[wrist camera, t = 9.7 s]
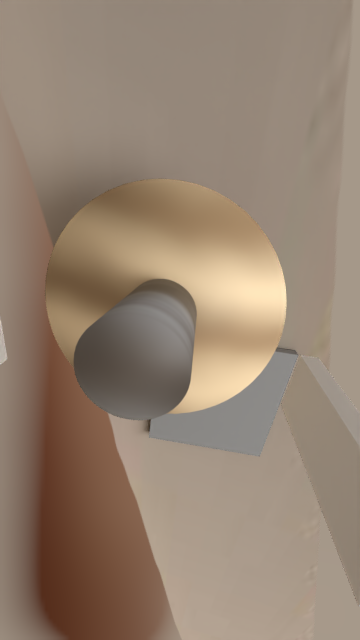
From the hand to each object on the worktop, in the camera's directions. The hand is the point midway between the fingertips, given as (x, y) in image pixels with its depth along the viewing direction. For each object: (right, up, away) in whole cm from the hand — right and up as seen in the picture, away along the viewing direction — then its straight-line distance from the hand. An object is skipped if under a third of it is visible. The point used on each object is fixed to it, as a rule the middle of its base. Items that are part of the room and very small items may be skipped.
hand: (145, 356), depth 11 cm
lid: (+1, +2, +6) cm, 6 cm away
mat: (+6, -8, +23) cm, 25 cm away
